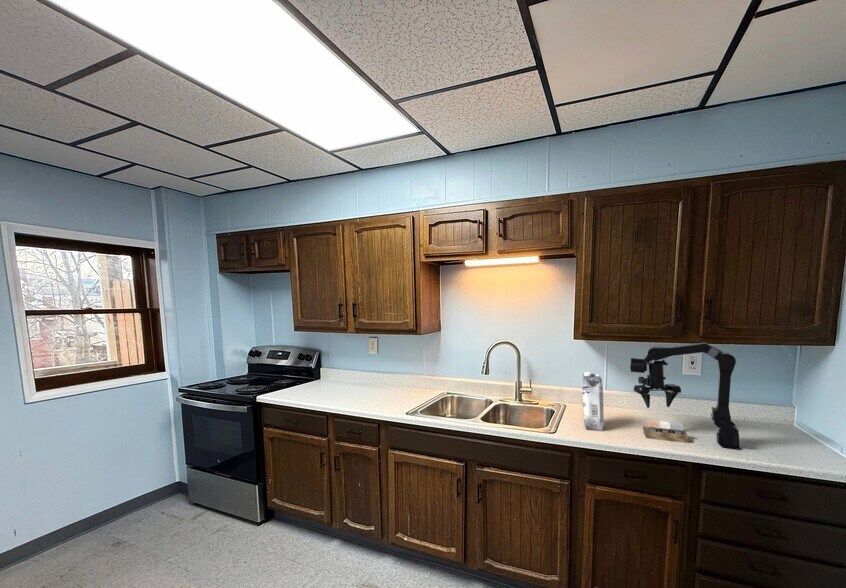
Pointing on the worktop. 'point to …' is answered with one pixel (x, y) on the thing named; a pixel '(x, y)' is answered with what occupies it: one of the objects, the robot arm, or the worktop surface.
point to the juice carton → (592, 401)
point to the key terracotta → (652, 425)
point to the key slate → (677, 428)
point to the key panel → (666, 435)
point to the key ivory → (664, 426)
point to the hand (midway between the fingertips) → (658, 407)
